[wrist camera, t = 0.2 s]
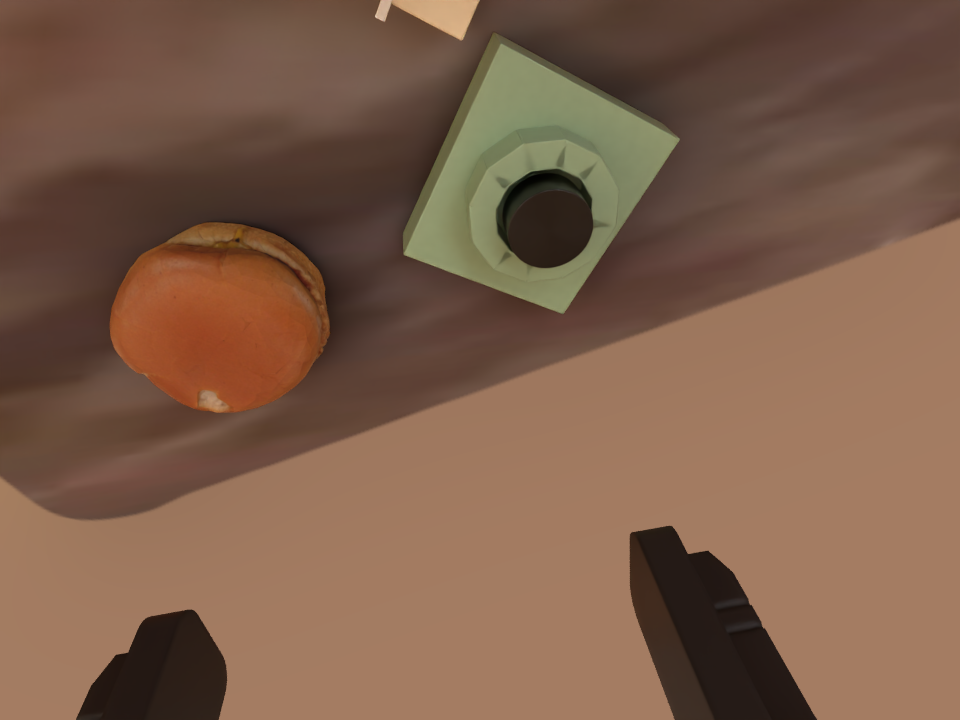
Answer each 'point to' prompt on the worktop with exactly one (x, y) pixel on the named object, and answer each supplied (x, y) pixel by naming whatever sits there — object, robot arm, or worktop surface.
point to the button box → (531, 171)
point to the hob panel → (436, 13)
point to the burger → (221, 317)
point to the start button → (547, 220)
